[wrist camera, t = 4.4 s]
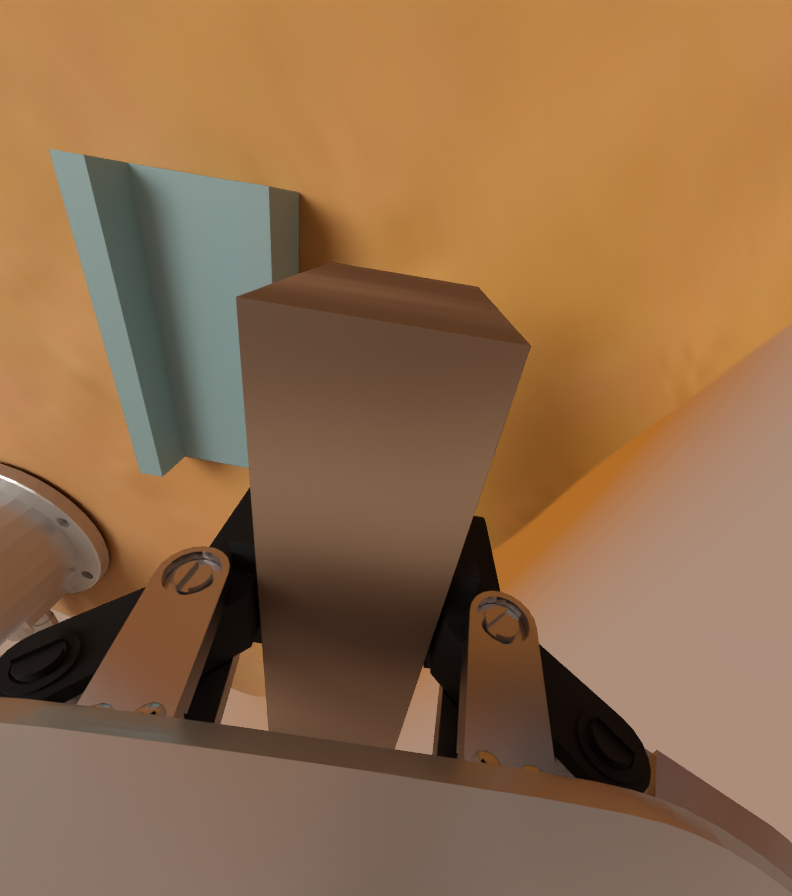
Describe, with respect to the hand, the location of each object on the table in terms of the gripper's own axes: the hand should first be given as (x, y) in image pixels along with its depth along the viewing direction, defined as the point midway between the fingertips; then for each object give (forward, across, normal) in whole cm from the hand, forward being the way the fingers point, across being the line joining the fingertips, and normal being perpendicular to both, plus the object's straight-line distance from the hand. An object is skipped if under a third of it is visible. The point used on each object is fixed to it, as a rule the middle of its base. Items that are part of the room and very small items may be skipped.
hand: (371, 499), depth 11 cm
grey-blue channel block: (+9, +9, -1) cm, 13 cm away
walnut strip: (+1, 0, 0) cm, 1 cm away
